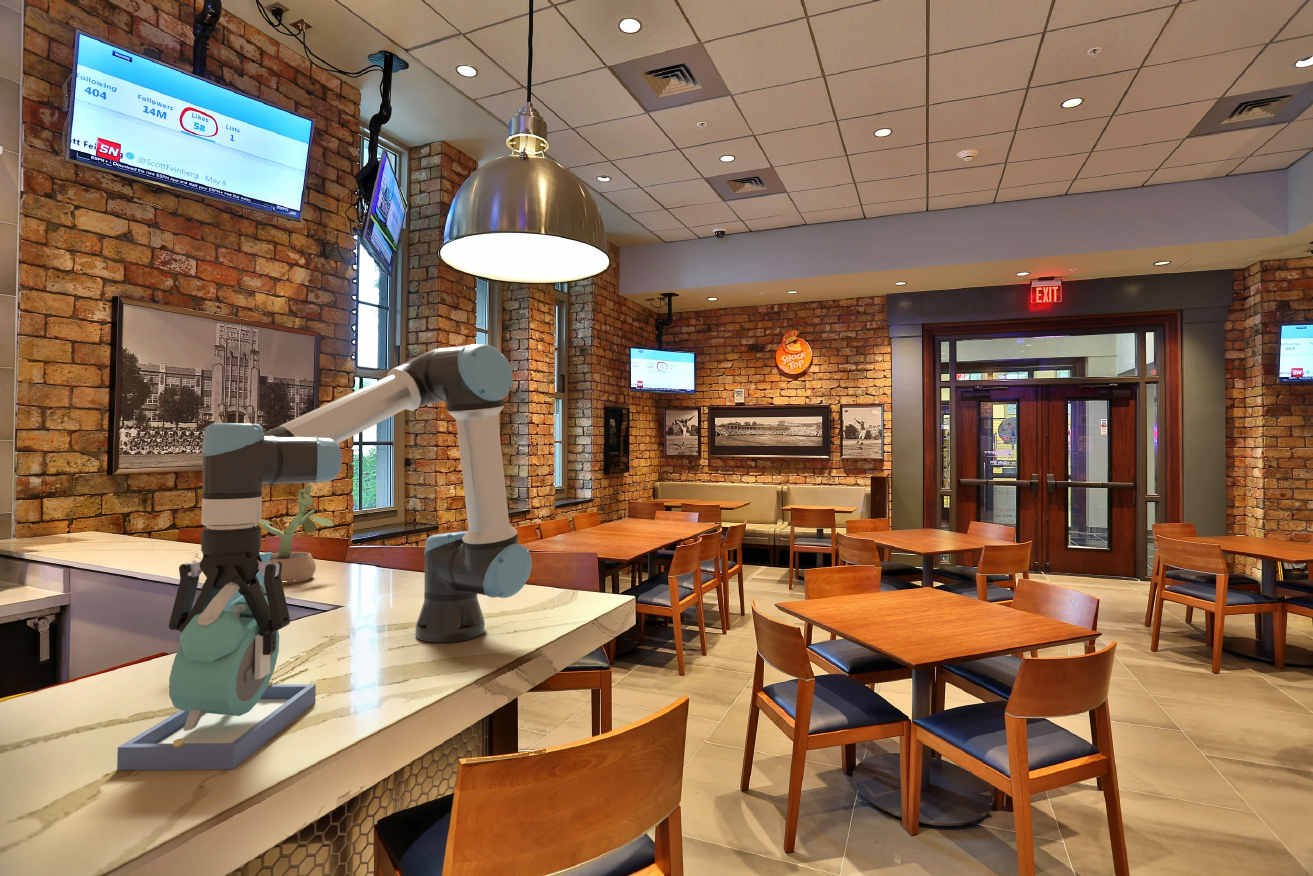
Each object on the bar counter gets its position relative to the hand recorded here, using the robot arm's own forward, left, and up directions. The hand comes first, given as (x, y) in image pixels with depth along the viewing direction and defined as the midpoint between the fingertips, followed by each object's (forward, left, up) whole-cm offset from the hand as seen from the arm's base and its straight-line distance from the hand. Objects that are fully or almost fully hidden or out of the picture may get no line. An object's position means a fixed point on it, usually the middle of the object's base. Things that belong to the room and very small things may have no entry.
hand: (229, 676), depth 96 cm
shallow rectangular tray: (0, 0, -8) cm, 8 cm away
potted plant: (+45, -105, -9) cm, 115 cm away
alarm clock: (0, 0, -6) cm, 6 cm away
